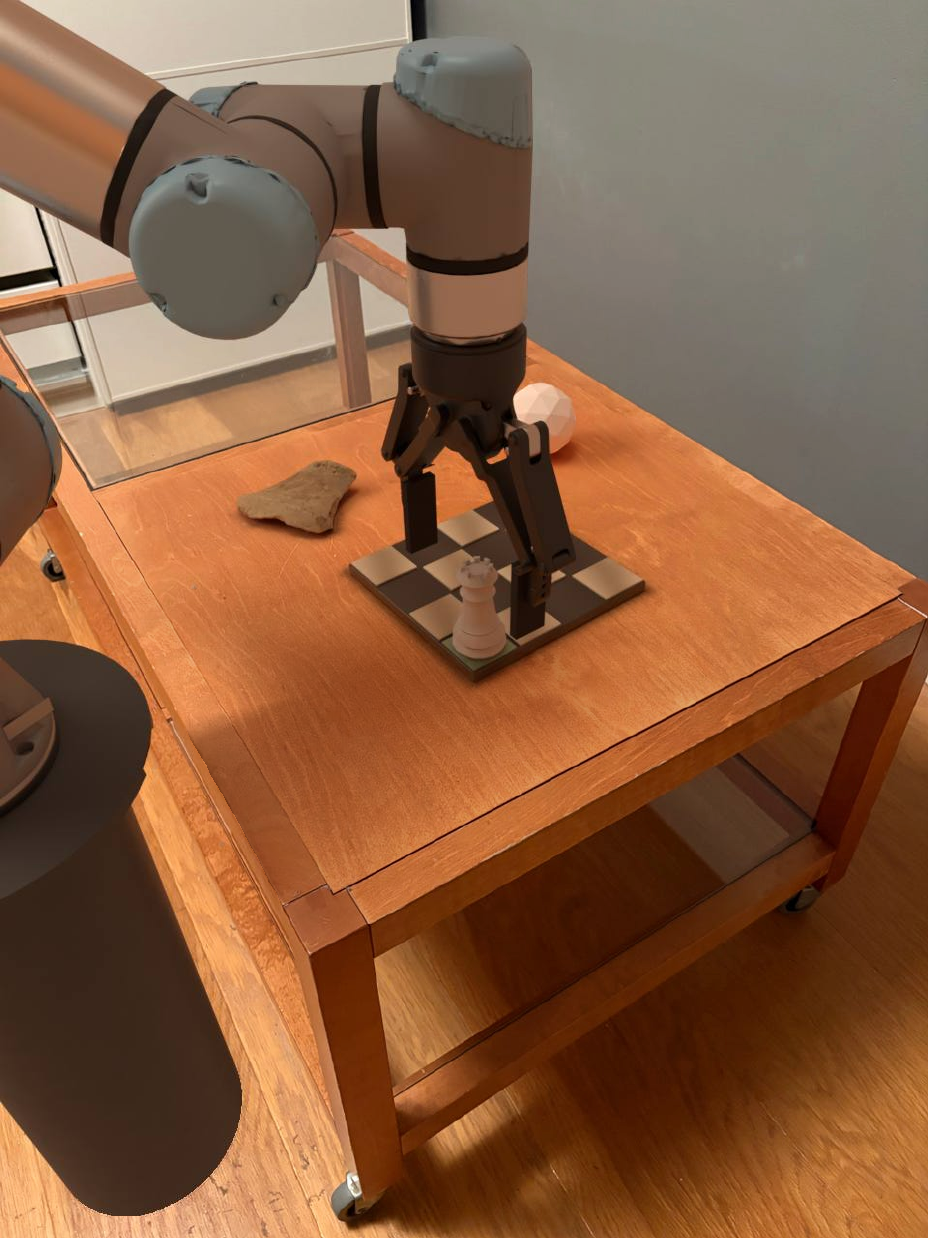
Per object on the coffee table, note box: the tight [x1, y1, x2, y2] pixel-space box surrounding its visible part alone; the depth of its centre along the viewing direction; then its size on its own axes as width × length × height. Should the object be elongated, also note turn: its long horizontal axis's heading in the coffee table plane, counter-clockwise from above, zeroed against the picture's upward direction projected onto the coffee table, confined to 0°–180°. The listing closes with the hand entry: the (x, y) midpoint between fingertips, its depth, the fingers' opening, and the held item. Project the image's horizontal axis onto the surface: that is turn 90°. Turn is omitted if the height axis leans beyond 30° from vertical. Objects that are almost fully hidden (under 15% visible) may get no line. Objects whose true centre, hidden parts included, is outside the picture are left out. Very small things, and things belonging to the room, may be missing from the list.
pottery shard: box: [236, 459, 358, 534], centre depth 96 cm, size 11×4×10 cm
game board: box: [348, 500, 646, 683], centre depth 86 cm, size 19×19×1 cm
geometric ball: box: [513, 382, 578, 455], centre depth 102 cm, size 8×8×8 cm
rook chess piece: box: [452, 556, 506, 659], centre depth 75 cm, size 4×4×8 cm
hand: (471, 586), depth 74 cm, fingers open, 13 cm apart
